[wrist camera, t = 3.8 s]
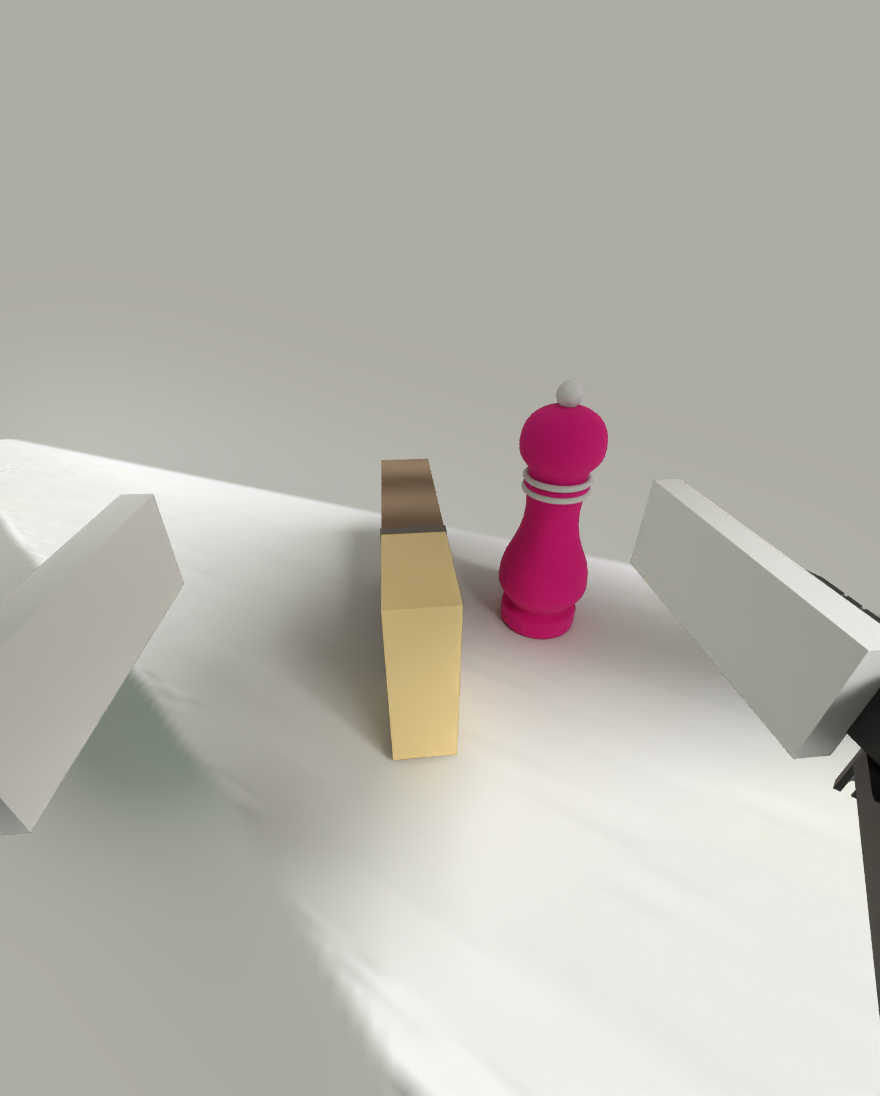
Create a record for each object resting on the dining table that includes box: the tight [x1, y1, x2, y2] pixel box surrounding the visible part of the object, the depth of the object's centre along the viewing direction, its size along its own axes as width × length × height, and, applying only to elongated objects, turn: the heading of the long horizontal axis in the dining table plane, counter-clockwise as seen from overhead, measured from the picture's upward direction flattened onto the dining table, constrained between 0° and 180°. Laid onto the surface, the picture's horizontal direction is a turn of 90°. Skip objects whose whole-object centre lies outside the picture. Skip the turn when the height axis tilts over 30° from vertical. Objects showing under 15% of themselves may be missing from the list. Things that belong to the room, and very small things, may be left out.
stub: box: [380, 525, 463, 760], centre depth 29 cm, size 8×4×12 cm, turn 6°
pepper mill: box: [499, 380, 608, 639], centre depth 35 cm, size 7×7×20 cm
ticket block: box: [382, 459, 443, 528], centre depth 38 cm, size 12×4×12 cm, turn 6°
